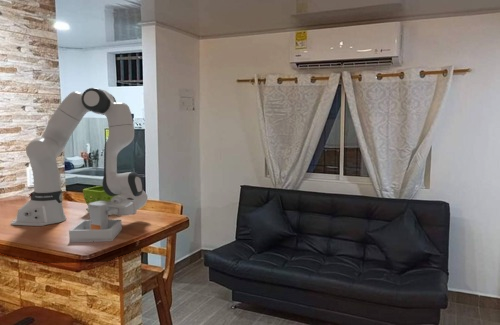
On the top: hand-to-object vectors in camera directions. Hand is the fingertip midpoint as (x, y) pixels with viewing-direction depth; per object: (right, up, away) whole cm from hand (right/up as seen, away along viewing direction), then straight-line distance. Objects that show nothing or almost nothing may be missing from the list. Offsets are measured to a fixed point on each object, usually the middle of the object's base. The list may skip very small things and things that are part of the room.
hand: (98, 211), depth 163 cm
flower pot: (-13, -5, +40) cm, 42 cm away
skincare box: (0, -9, +1) cm, 9 cm away
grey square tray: (0, -10, 0) cm, 10 cm away
